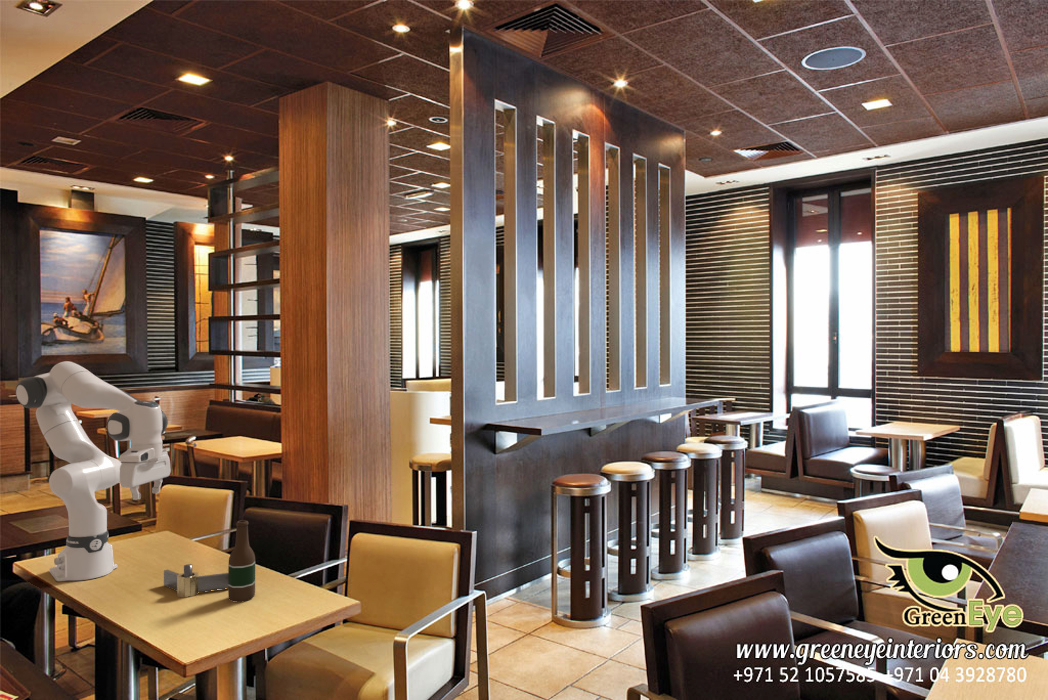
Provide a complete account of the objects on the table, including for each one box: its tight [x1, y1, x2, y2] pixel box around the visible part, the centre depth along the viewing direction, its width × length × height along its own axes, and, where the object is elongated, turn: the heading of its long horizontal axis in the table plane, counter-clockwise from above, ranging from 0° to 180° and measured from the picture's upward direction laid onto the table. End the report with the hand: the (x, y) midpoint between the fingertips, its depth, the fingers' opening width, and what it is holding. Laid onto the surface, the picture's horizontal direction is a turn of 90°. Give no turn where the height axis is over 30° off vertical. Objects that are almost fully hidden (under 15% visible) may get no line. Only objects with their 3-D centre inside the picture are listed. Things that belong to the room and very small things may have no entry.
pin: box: [183, 563, 193, 577], centre depth 218 cm, size 2×2×9 cm
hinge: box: [163, 569, 228, 598], centre depth 223 cm, size 21×15×6 cm
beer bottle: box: [227, 519, 256, 603], centre depth 214 cm, size 8×8×24 cm
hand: (146, 496), depth 217 cm, fingers open, 8 cm apart
